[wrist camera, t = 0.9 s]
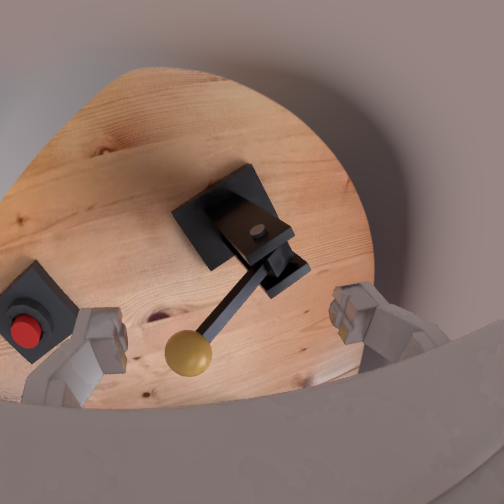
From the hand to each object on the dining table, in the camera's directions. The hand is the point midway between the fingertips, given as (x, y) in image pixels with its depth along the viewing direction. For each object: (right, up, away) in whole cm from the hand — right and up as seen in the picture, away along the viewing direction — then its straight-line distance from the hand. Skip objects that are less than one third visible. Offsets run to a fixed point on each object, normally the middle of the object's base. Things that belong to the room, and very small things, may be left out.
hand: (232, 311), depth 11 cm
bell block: (-28, -6, +21) cm, 36 cm away
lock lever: (-2, -2, +14) cm, 15 cm away
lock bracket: (-2, +7, +27) cm, 28 cm away
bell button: (-27, -7, +18) cm, 33 cm away
